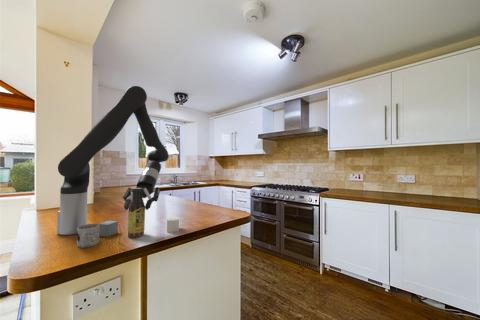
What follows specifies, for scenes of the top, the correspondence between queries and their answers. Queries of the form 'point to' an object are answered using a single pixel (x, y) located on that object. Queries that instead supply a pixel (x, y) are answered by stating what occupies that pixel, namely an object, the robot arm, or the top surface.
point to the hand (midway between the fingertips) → (136, 208)
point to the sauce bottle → (136, 214)
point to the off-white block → (172, 224)
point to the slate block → (108, 228)
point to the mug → (87, 235)
